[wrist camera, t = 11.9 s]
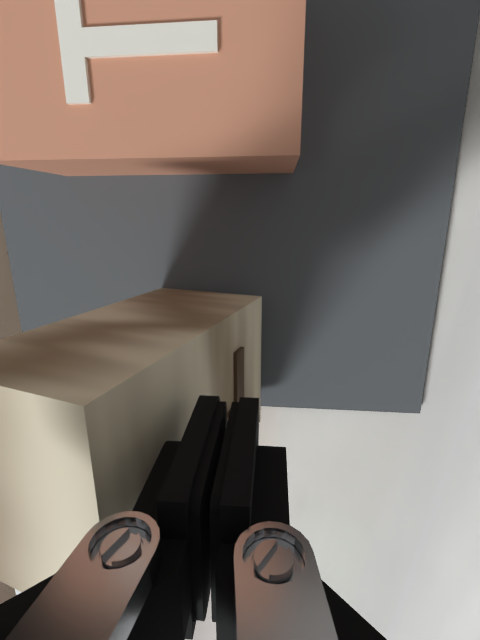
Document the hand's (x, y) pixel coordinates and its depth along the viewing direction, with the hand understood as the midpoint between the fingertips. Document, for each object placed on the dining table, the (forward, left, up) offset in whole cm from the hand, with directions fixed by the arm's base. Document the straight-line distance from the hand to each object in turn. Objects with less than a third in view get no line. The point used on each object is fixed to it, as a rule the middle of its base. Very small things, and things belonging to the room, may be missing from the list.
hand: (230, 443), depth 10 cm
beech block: (+2, 0, -7) cm, 7 cm away
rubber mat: (+2, -6, -8) cm, 10 cm away
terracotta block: (-2, -11, -5) cm, 12 cm away
